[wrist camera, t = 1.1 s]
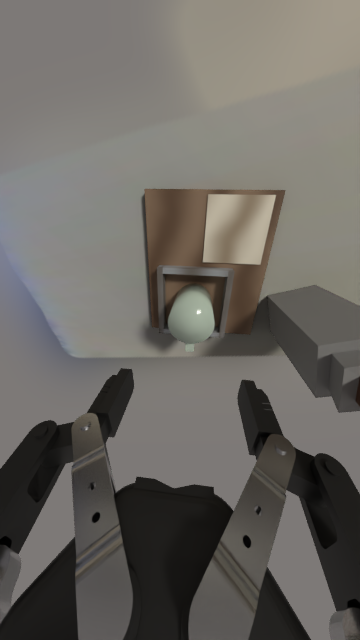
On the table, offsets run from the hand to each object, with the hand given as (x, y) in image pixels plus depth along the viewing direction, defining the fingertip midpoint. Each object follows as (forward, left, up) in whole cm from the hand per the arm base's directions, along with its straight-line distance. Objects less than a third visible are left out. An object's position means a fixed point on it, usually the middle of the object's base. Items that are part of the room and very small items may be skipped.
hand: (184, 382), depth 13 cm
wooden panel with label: (-2, -4, -18) cm, 19 cm away
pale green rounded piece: (0, +1, -17) cm, 17 cm away
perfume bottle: (-16, +1, -18) cm, 24 cm away
